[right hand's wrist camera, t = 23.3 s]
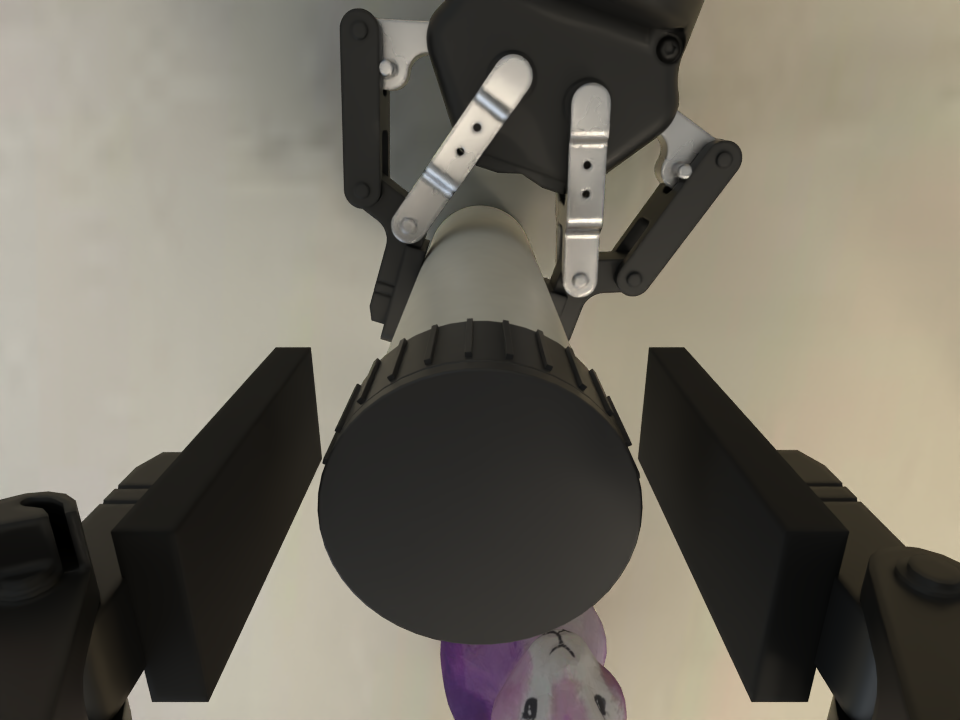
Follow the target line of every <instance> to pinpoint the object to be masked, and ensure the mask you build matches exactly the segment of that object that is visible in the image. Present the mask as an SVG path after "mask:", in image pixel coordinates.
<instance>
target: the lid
mask: <svg viewBox="0 0 960 720" xmlns="http://www.w3.org/2000/svg"><path fill="white" fill-rule="evenodd" d="M335 431H336V433H335V435H334V437H333V439H332V441H331V443H330V446H329V448H328V450H327V452H326V454H325V456H324V459H323V464H325V467H324V470H323V472H322V476H321V481H320V486H319V492H318V518H319V526H320V531H321V535H322V538H323V542H324V546H325V548H326V551H327V553H328V555H329V557H330V560H331V562H332V564H333V566H334V567H335V569H336V570H337V572H338V574H339V575H340V577H341V579H342V580H343V581H344V582H345V583H346V585H347V586H348V587H349V588H350V590H351V591H352V592H353V593H354V594H355V595H356V596H357V597H358V598H359V599H360V600H361V601H362V602H363V603H365V604H366V605H367V606H368V607H369V608H371V609H372V610H373V611H375V612H376V613H378V614H379V615H380V616H382V617H383V618H385V619H387V620H389V621H390V622H392V623H394V624H396V625H397V626H399V627H402V628H404V629H406V630H409V631H411V632H413V633H416V634H419V635H422V636H425V637H429V638H432V639H436V640H441V641H446V642H451V643H459V644H470V645H492V644H501V643H510V642H515V641H519V640H524V639H529V638H532V637H535V636H538V635H541V634H544V633H547V632H549V631H552V630H554V629H556V628H558V627H560V626H563V625H565V624H567V623H568V622H570V621H572V620H573V619H575V618H577V617H578V616H580V615H582V614H583V613H584V612H585V611H587V610H588V609H589V608H591V607H592V606H593V605H595V604H596V603H597V602H598V601H599V600H600V599H601V598H602V597H603V596H604V595H605V594H606V593H607V592H608V591H609V590H610V589H611V587H612V586H613V585H614V584H615V582H616V581H617V580H618V579H619V577H620V576H621V574H622V572H623V571H624V569H625V567H626V566H627V564H628V562H629V561H630V558H631V556H632V553H633V551H634V548H635V546H636V543H637V539H638V535H639V531H640V527H641V519H642V508H643V507H642V491H641V485H640V481H639V478H640V473H639V471H638V469H637V466H636V464H635V462H634V460H633V458H632V455H631V453H630V451H629V449H628V446H631V445H632V443H631V441H630V439H629V437H628V435H627V432H626V430H625V428H624V426H623V424H622V422H621V420H620V417H619V415H618V413H617V411H616V409H615V407H614V405H613V402H612V400H611V398H610V396H607V397H606V394H605V392H604V390H603V388H602V386H601V383H600V381H599V379H598V377H597V375H596V372H595V371H594V370H593V369H591V370H590V371H589V370H588V369H587V368H586V366H585V365H584V364H583V363H582V362H581V361H580V360H579V359H578V358H577V357H576V356H575V355H574V352H573V350H572V348H570V347H569V346H567V348H564V347H563V346H562V345H560V344H559V343H558V342H556V341H554V340H552V339H550V338H548V337H547V336H545V335H544V334H543V331H541V330H539V329H537V331H536V332H535V331H533V330H530V329H528V328H525V327H521V326H517V325H513V324H509V321H508V320H503V322H494V321H473V318H468V319H467V321H465V322H458V323H450V324H447V325H443V326H439V327H438V325H437V324H436V325H433V326H432V327H431V329H430V330H427V331H425V332H422V333H420V334H417V335H415V336H413V337H412V338H410V339H408V340H406V339H405V338H403V339H402V340H400V342H399V345H398V346H397V347H396V348H394V349H393V350H392V351H390V352H389V353H388V354H387V355H385V356H384V357H383V358H382V359H381V360H379V359H378V358H377V359H376V360H375V361H374V363H373V365H372V367H371V369H370V372H369V374H368V376H367V377H366V378H365V380H364V381H363V383H362V385H359V384H357V385H356V386H355V388H354V390H353V393H352V395H351V397H350V399H349V401H348V403H347V405H346V408H345V410H344V412H343V414H342V416H341V418H340V420H339V423H338V425H337V427H336V429H335Z"/></svg>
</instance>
